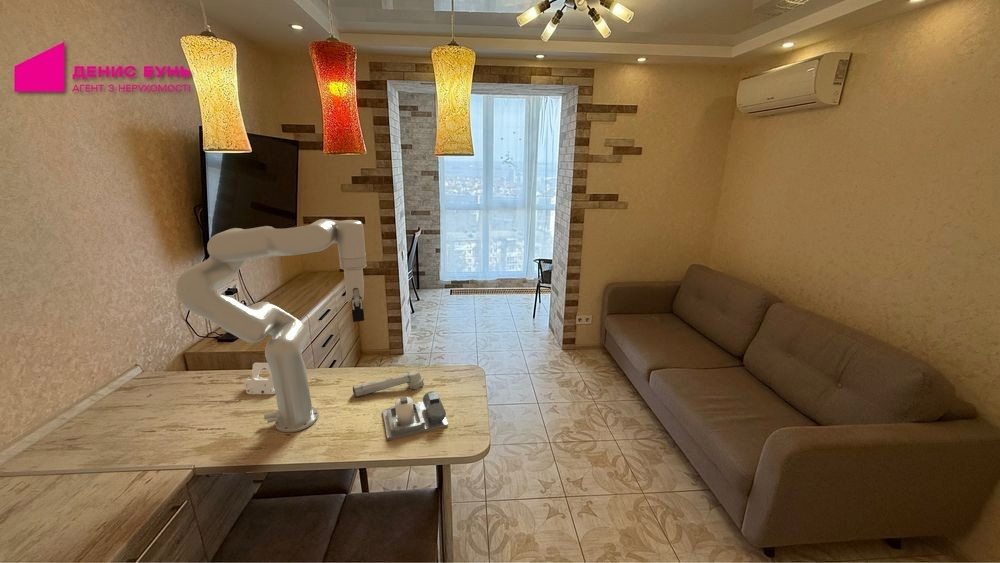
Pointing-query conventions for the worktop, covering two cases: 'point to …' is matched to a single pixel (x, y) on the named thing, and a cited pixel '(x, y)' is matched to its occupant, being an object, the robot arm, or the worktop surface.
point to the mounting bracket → (259, 381)
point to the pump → (404, 411)
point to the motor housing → (417, 417)
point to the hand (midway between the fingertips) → (358, 315)
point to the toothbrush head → (389, 383)
